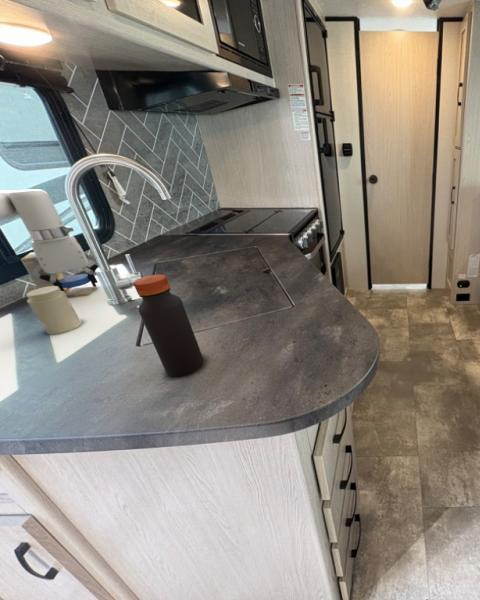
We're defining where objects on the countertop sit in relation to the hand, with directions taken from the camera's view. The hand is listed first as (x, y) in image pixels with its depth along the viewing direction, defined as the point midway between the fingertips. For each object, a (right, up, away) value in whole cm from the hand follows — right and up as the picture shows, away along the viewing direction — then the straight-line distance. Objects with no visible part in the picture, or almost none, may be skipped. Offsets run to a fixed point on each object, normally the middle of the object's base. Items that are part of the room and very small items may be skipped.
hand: (79, 288), depth 100 cm
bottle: (+58, -18, -34) cm, 69 cm away
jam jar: (+15, -11, -19) cm, 27 cm away
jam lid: (0, +3, -1) cm, 3 cm away
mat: (0, -1, +1) cm, 2 cm away
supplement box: (-8, -1, +1) cm, 8 cm away
